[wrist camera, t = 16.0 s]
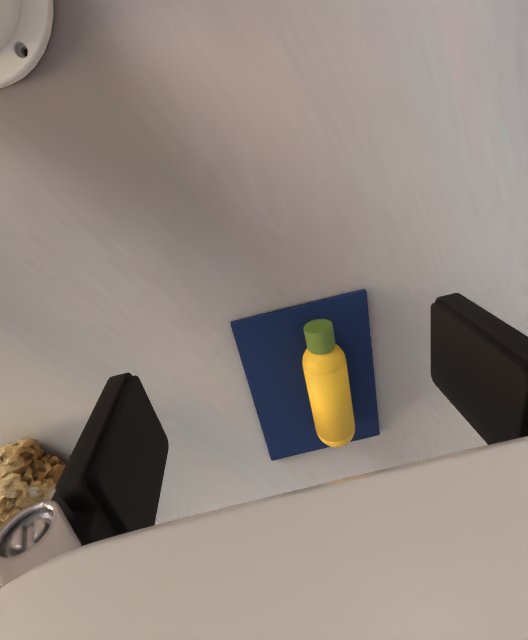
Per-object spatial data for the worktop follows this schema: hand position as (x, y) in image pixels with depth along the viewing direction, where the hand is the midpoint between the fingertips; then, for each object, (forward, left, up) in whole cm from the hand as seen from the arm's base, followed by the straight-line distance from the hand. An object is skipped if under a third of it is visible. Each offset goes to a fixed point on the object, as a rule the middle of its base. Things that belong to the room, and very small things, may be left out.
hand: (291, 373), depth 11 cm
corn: (+3, -18, -22) cm, 29 cm away
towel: (+3, -19, -23) cm, 30 cm away
